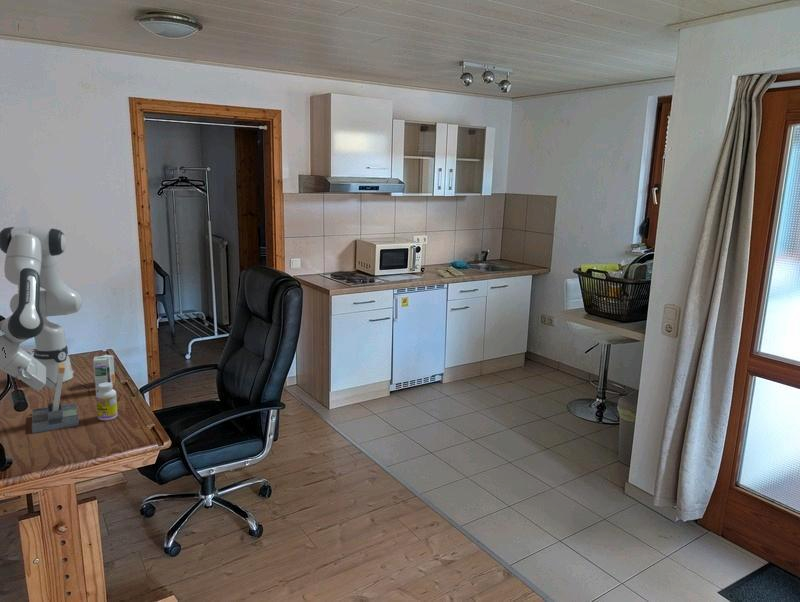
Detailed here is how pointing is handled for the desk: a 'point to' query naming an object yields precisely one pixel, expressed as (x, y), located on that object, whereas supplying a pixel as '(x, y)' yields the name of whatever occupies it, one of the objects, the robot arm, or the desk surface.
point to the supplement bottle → (106, 402)
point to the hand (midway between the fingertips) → (54, 386)
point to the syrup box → (102, 370)
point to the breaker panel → (54, 418)
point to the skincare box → (112, 367)
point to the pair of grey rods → (47, 407)
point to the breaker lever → (58, 387)
